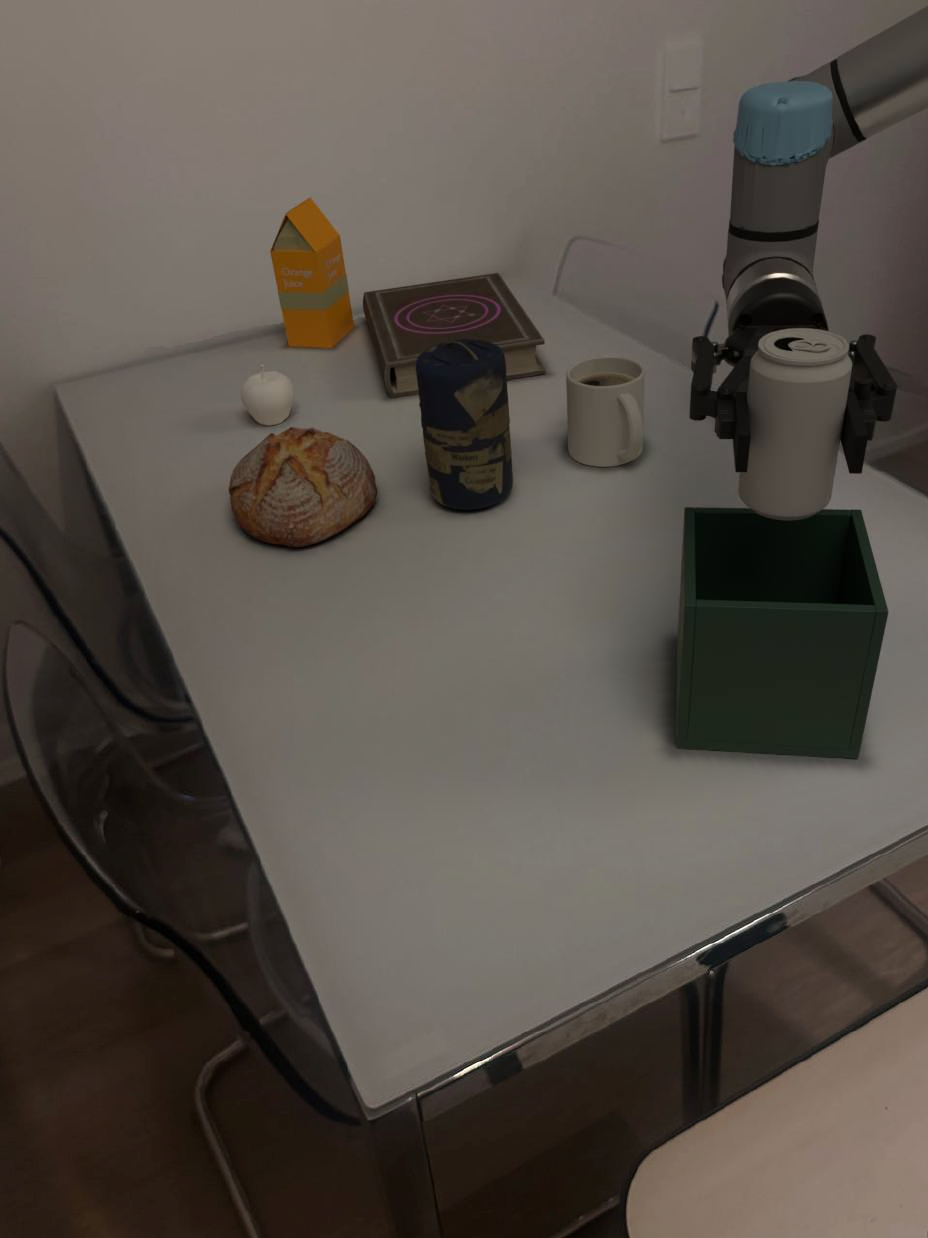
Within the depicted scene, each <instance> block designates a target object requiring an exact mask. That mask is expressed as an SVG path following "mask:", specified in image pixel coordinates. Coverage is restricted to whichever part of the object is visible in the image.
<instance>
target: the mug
mask: <svg viewBox="0 0 928 1238" xmlns="http://www.w3.org/2000/svg"><path fill="white" fill-rule="evenodd" d="M645 373H646V372H645V368H644V366H643V365H642V364H641V363H640V362H639V361H636V360H634V359H631V358H628V357H624V356H618V355H617V356H616V355H603V356H594V357H589V358H585V359H582V360H578V361H576V362H575V363H573V364H571V365H570V366H569V367H568V369H567V370H566V373H565V376H566V377H565V379H566V380H565V381H566V382H565V384H566V420H567V421H566V422H567V425H566V426H567V452H568V454H569V456H570V457H571V458H572V460H574V461H576V462H578V463H580V464H582V465H586V466H590V467H597V468H599V467H600V468H608V467H609V468H610V467H618V466H622V465H625V464H629V463H631V462H633V461H635V460H636V459H638V458H639V457H640V455H642V452H643V450H644V449H643V448H644V413H645V376H646V375H645Z"/></svg>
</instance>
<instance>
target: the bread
mask: <svg viewBox="0 0 928 1238" xmlns="http://www.w3.org/2000/svg"><path fill="white" fill-rule="evenodd" d="M228 494H229V503H230V506H231V512H232V514H233V516H234V519H235V521H236V523H237V524H238V526H239V527H240V528H242V529H243V531H244V532H245V533H246V534H248V536H251V537H252V538H254V539H256V540H258V541H261V542H263V543H267V544H272V545H278V546H281V545H283V546H287V547H291V548H303V547H306V546H311V545H315V544H317V543H320V542H322V541H325V540H327V539H329V538H332V537H333V536H335V535H338V534H339V533H341V532H342V531H344V530H346V529H347V528H348V527H350V526H351V525H353V524H354V523H356V522H357V521H358V520H360V519H361V518H363V517H364V516H365V515H366V514H367V512H368V511H369V510H371V508H372V507H373V505H374V504H375V503H376V500H377V497H378V488H377V484H376V475H375V473H374V471H373V469H372V466H371V464H370V462H369V461H368V459H367V457H366V456H365V455H364V454H363V452H362V451H360V449H359V448H357V447H356V445H354V444H353V443H352V442H351V441H349V440H348V439H344V438H342V437H340V436H337V435H336V434H333V433H331V432H327V431H322V430H320V429H316V428H314V426H311V427H308V428H307V427H305V428H301V427H296V426H290V427H289V428H288V429H285V430H284V431H282V432H280V433H279V434H277V435H276V434H275V433H273V432H271V433H269V434H268V435H267V436H266V437H265V438H263V440H262V441H261V442H259V443H258V444H257V445H255V447H254V448H253V449H251V450H250V451H249V452H248V453H247V454H245V455H244V456H243V457H242V458H241V459H240V460H239V461H238V462H237V464H236V465H235V466H234V468H233V470H232V472H231V475H230V479H229V486H228Z"/></svg>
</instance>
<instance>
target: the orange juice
mask: <svg viewBox="0 0 928 1238" xmlns="http://www.w3.org/2000/svg"><path fill="white" fill-rule="evenodd" d="M269 253H270V258H271V264H272V268H273V273H274V277H275V283H276V289H277V295H278V300H279V306H280V310H281V314H282V318H283V323H284V329H285V334H286V339H287V344H288V347H290V348H291V347H295V348H318V349H334V347H336V345H338V343H340V342H341V341H342V340H343V339H344V338H345V337H346V336H347V335H348V334H349V333H350V332H351V331H352V330H353V329H354V328H355V323H354V322H355V321H354V317H353V309H352V305H351V298H350V297H351V296H350V289H349V282H348V276H347V272H346V267H345V259H344V252H343V245H342V240H341V234H340V233H339V232H338V231H337V230H336V228H335V227H334V226H333V224H332V223H331V222H330V220H329V219H328V218H327V216H326V215H325V214H324V212H323V211H322V210H321V209H320V207H319V206H318V205H317V204H316V202H315V201H314V200H313V199H312V196H310V197H308V198H306V199H305V200H304V201H302V202H300V203H299V204H297V205H295V206H294V207H293V208H291V209H289V210H288V211H286V212H285V214H284V217H283V218H282V221H281V224H280V226H279V228H278V232H277V234H276V236H275V239H274V241H273V244H272V246H271V248H270V250H269Z"/></svg>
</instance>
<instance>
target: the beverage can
mask: <svg viewBox="0 0 928 1238" xmlns="http://www.w3.org/2000/svg"><path fill="white" fill-rule="evenodd" d="M848 343H849V341H848V340H847V339H846V338H845V337H843V336H841V335H840V334H837V333H834V332H832V331H829V332H828V331H824V330H819V329H809V328H792V329H784V330H779V331H775V332H771V333H769V334H767V335H765V336H763V337H762V338H761V339H760V340H759V343H758V351H757V352H756V353H755V354H754V356H753V357H752V359H751V363H750V373H749V384H748V394H747V405H748V414H749V423H750V432H751V438H750V448H749V459H748V469H747V472H739V476H738V477H739V479H738V489H737V492H738V493H737V494H738V497H739V499H740V501H741V502H742V503H743V504H744V505H745V506H746V507H747V508H751V509H752V510H753V511H754V512H756V513H757V514H759V515H762V516H764V517H768V518H771V519H777V520H800V519H805V518H808V517H810V516H812V515H814V514H815V513H817V512H819V511H821V510H822V509H826V507H827V506H829V504H830V502H831V499H832V496H833V495H832V494H833V488H834V484H835V483H834V482H835V475H836V471H837V470H836V469H837V465H838V464H837V462H838V457H839V452H840V444H841V440H840V439H841V433H842V427H843V420H844V414H845V408H846V402H847V396H848V389H849V383H850V377H851V371H852V361H851V359H850V357H849V355H848V354H847V353H848V350H849V344H848Z"/></svg>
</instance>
